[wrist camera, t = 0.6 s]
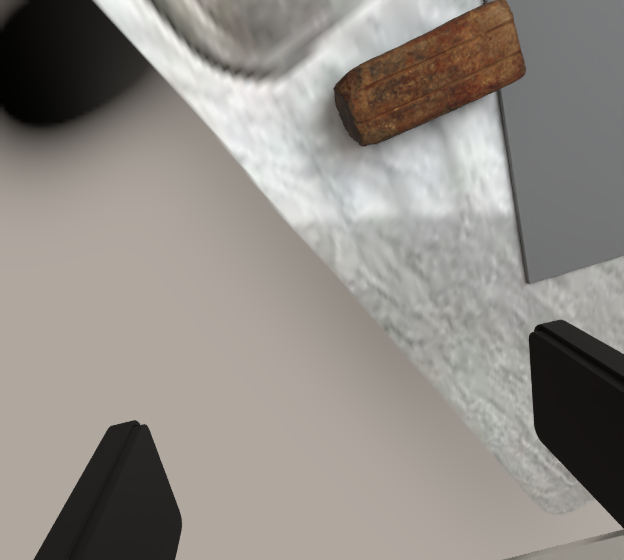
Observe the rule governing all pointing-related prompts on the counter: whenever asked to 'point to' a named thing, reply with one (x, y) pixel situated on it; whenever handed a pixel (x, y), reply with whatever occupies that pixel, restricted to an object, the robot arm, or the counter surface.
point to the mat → (567, 133)
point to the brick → (431, 74)
